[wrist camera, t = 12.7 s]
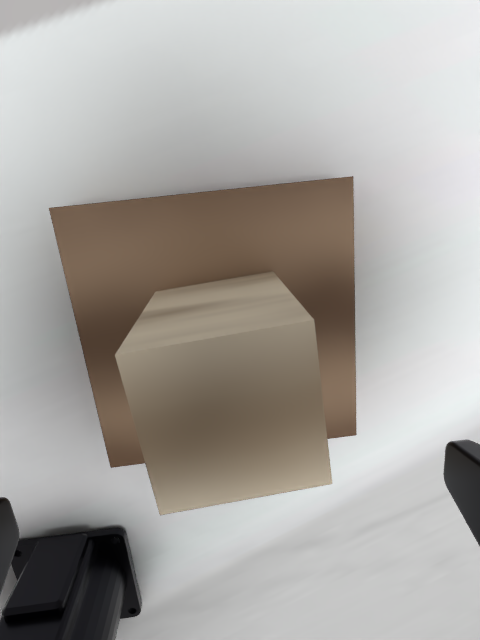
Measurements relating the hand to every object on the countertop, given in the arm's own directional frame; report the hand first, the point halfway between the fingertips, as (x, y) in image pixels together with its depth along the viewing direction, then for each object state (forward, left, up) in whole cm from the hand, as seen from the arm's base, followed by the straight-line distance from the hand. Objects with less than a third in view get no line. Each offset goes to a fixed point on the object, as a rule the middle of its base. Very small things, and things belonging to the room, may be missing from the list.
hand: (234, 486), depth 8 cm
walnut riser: (0, 0, -12) cm, 13 cm away
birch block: (0, 0, -10) cm, 10 cm away
